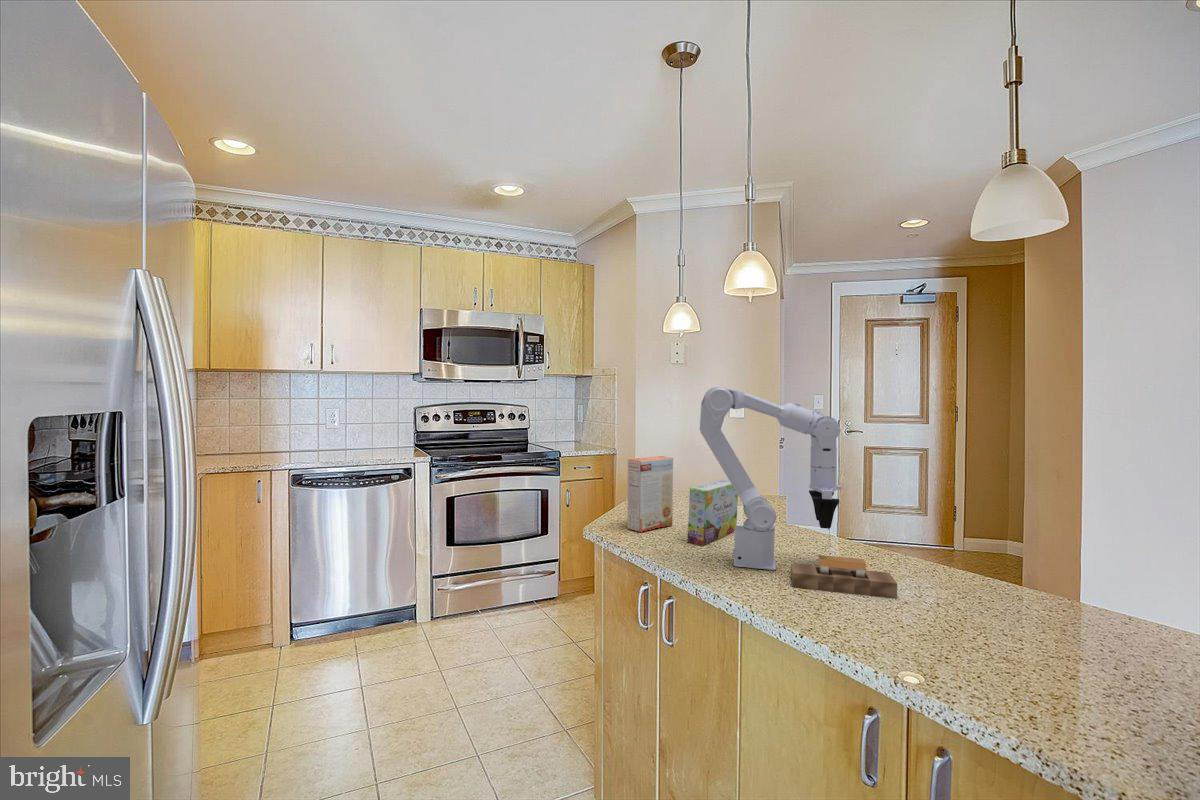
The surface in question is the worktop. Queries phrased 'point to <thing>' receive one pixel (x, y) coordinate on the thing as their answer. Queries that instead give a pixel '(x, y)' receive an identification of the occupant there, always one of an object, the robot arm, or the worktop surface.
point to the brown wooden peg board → (843, 581)
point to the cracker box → (650, 493)
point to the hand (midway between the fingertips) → (823, 524)
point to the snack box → (712, 512)
